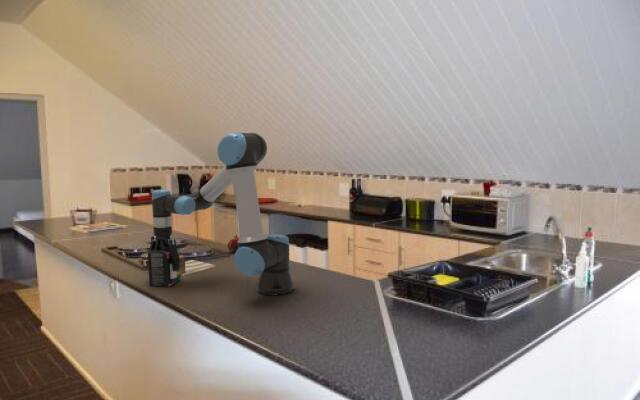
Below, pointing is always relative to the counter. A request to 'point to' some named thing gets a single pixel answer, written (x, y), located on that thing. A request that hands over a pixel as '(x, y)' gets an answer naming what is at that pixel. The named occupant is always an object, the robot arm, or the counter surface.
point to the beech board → (192, 266)
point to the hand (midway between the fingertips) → (164, 275)
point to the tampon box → (161, 268)
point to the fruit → (233, 244)
